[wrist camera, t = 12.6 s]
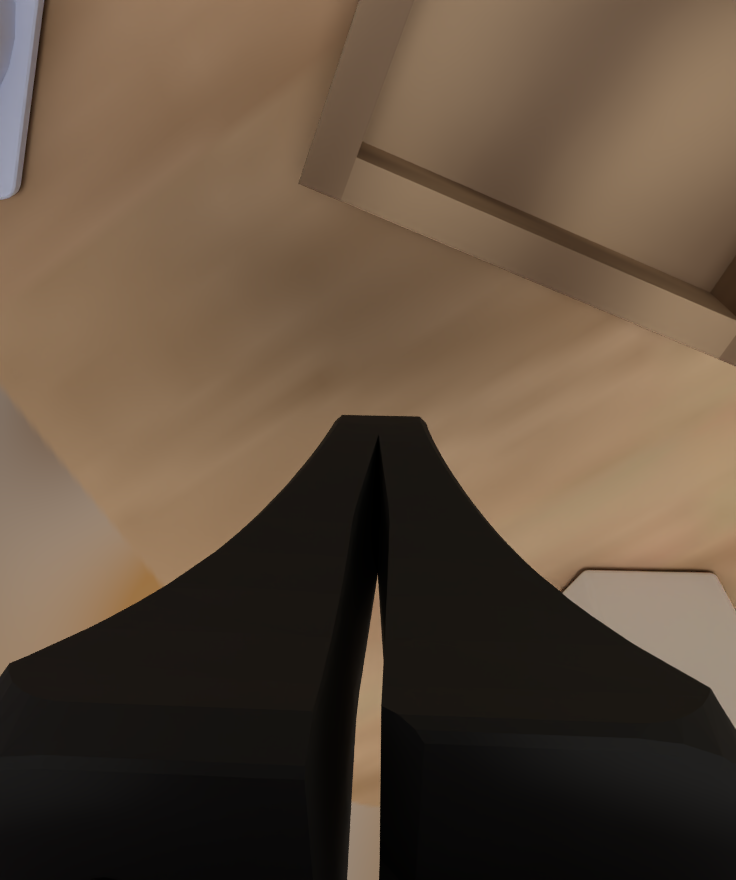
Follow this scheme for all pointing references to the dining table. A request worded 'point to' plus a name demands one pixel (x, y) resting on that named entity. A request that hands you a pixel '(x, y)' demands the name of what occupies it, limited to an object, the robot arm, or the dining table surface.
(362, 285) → the dining table surface
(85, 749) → the robot arm
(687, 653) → the jar
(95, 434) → the dining table surface
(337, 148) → the brown wooden tray
